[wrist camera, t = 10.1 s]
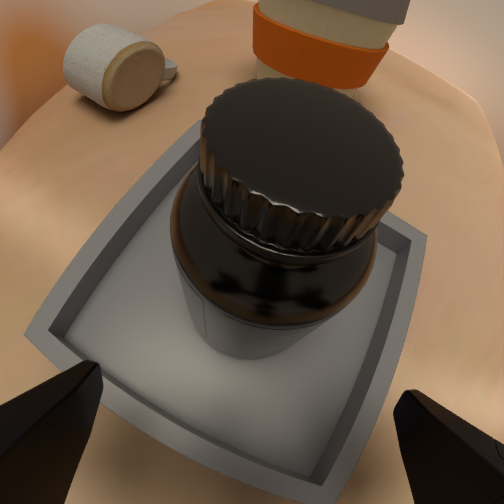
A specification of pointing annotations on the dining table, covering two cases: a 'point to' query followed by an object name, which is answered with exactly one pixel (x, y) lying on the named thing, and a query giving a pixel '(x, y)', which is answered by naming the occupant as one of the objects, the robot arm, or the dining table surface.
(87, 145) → the dining table surface
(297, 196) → the supplement bottle
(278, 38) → the reusable coffee cup
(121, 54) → the ceramic mug
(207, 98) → the dining table surface
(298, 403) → the tray
